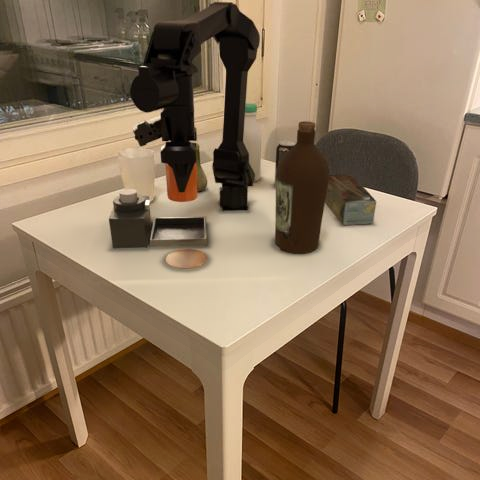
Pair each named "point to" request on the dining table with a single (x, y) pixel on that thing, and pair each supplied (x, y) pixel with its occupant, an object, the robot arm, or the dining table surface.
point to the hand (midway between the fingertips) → (182, 186)
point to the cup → (138, 170)
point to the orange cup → (172, 187)
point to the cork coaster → (186, 259)
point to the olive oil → (301, 194)
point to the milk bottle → (252, 138)
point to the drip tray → (178, 231)
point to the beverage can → (282, 151)
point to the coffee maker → (130, 223)
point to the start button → (128, 196)
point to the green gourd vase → (200, 172)
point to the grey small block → (147, 205)
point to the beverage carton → (350, 200)
